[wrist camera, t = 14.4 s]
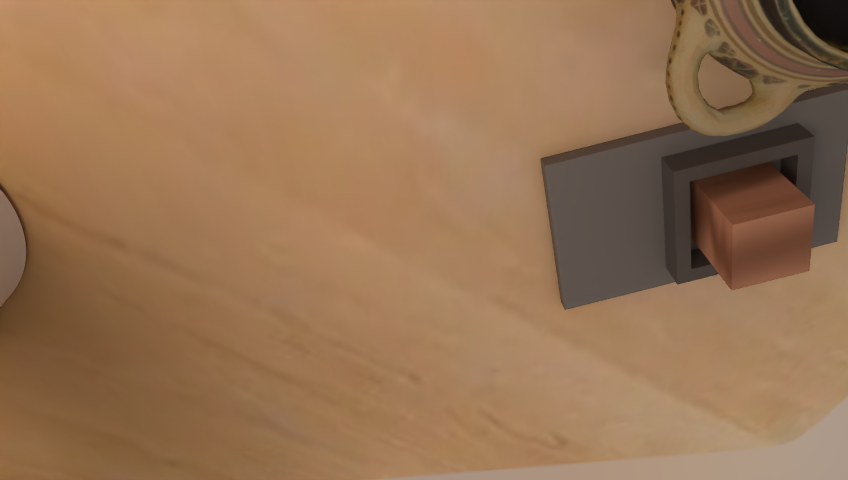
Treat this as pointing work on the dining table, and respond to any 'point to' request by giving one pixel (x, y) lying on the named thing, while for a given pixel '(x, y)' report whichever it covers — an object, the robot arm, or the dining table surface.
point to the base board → (679, 195)
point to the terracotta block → (752, 225)
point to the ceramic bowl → (755, 56)
